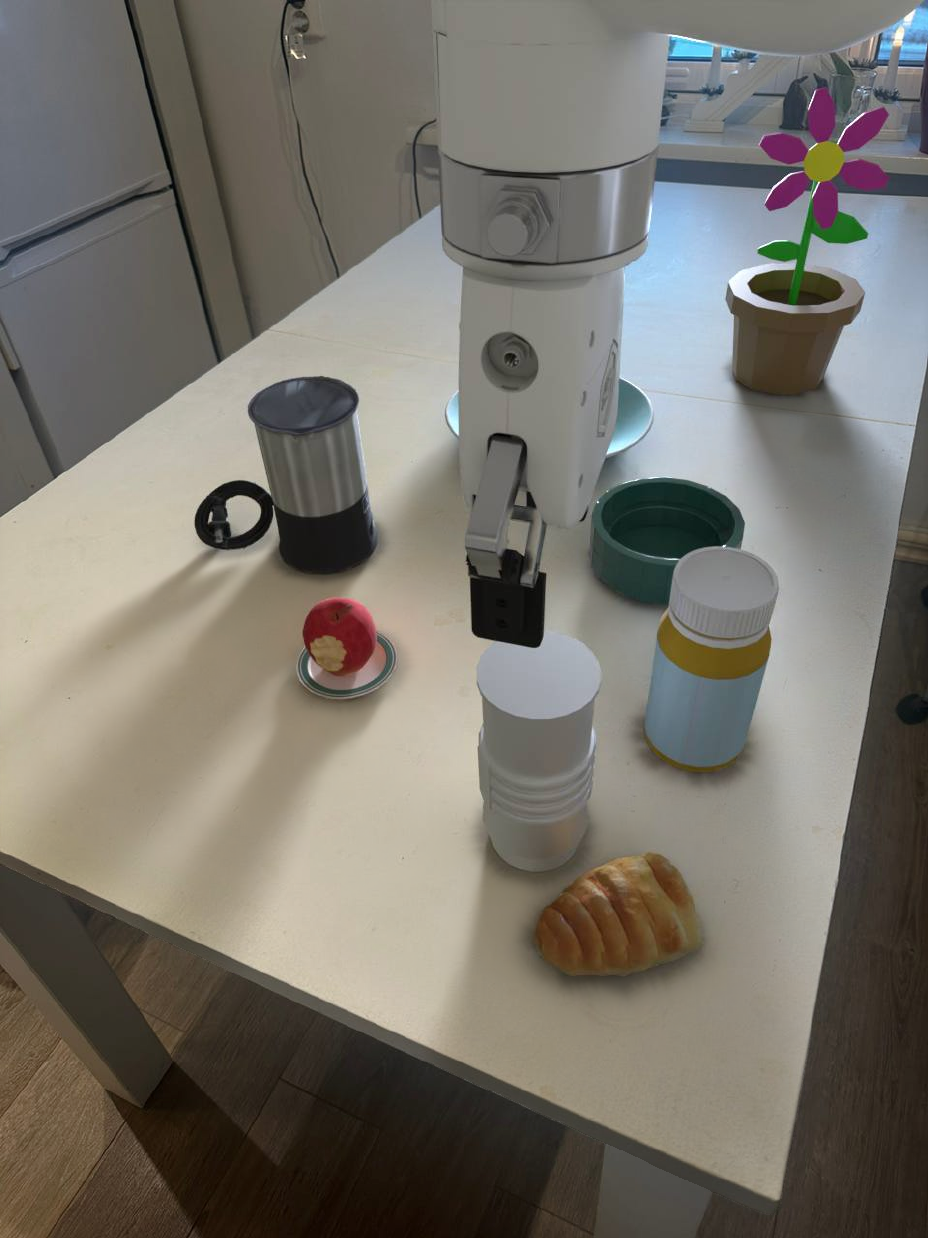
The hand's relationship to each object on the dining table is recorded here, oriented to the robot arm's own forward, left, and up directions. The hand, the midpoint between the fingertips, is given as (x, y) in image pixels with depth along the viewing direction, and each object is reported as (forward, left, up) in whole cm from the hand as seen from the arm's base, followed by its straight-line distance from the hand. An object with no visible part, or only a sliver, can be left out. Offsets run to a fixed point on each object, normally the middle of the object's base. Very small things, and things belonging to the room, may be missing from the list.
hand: (533, 572), depth 43 cm
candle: (0, 0, -22) cm, 22 cm away
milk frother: (+30, -25, -22) cm, 45 cm away
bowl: (-4, -30, -22) cm, 37 cm away
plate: (+11, -50, -22) cm, 56 cm away
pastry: (-7, +5, -22) cm, 24 cm away
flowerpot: (-12, -69, -22) cm, 74 cm away
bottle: (-9, -11, -22) cm, 26 cm away
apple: (+18, -11, -22) cm, 30 cm away
